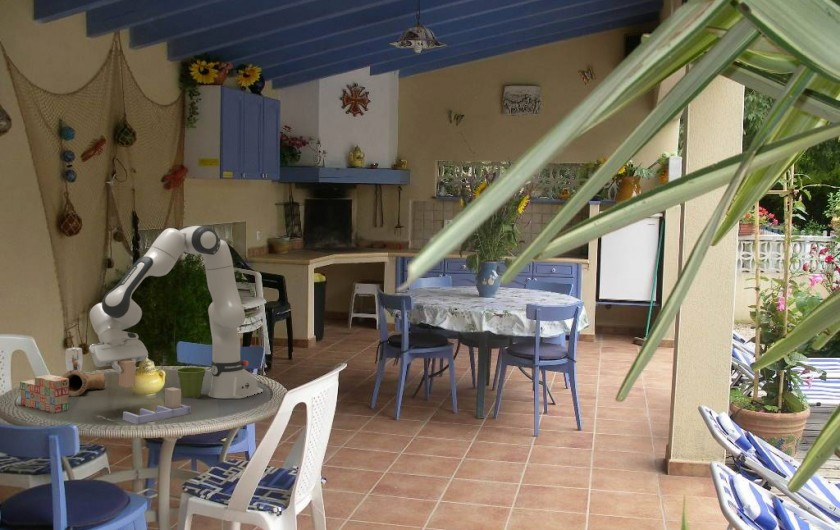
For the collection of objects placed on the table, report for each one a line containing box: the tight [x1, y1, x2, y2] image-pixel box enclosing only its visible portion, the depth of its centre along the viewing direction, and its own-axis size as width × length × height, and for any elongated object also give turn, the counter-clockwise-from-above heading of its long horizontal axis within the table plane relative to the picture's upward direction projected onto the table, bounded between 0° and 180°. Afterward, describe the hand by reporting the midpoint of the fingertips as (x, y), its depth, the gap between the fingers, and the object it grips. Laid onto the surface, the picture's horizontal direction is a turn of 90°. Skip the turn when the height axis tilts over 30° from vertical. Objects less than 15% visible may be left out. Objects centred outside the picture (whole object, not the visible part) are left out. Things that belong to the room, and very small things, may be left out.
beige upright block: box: [164, 386, 182, 409], centre depth 330 cm, size 4×5×9 cm
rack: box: [122, 403, 192, 425], centre depth 325 cm, size 22×10×4 cm, turn 139°
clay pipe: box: [62, 370, 107, 397], centre depth 366 cm, size 19×11×15 cm
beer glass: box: [64, 347, 84, 373], centre depth 383 cm, size 7×7×15 cm
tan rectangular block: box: [118, 360, 136, 388], centre depth 325 cm, size 4×5×9 cm
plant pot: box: [175, 366, 207, 399], centre depth 360 cm, size 12×12×11 cm
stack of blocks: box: [19, 374, 70, 414], centre depth 339 cm, size 21×6×12 cm, turn 57°
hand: (128, 371), depth 324 cm, fingers closed on tan rectangular block, 3 cm apart
